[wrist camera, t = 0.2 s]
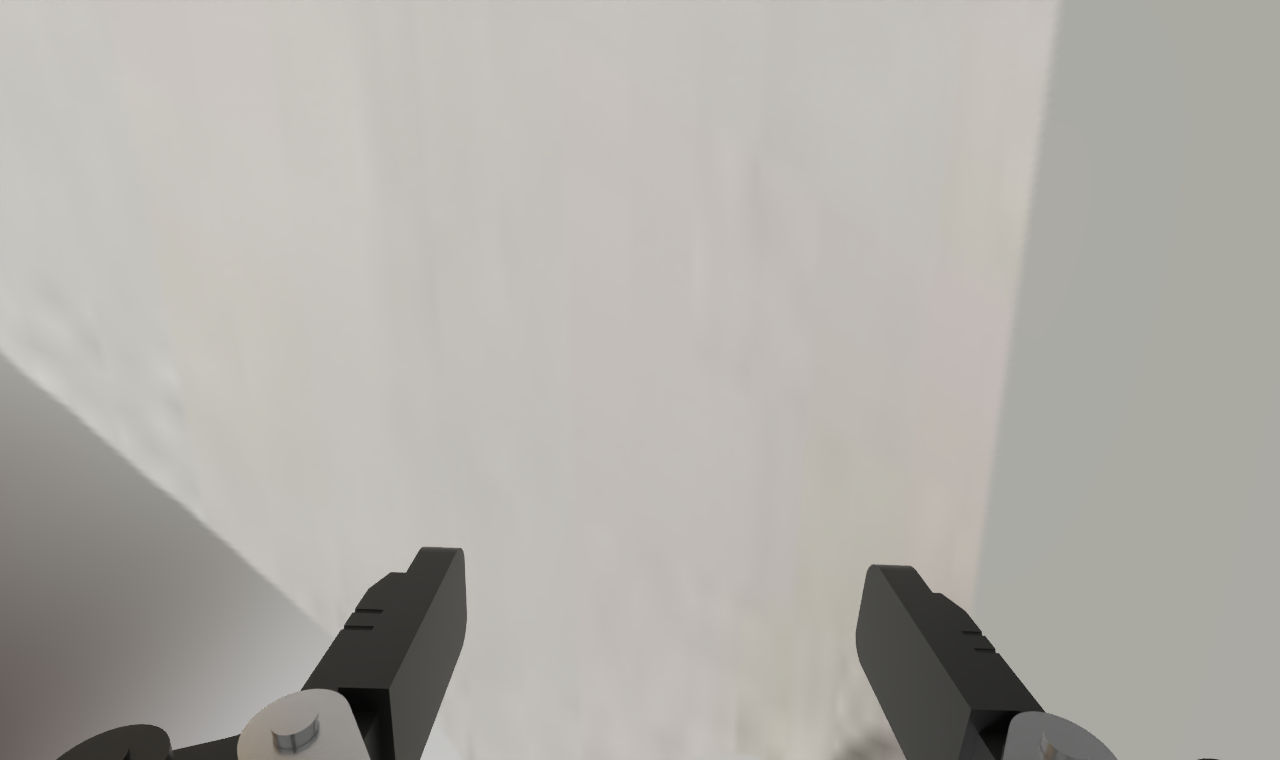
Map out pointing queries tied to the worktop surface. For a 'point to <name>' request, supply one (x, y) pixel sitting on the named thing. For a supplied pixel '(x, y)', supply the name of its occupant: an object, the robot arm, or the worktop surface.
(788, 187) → the worktop surface
